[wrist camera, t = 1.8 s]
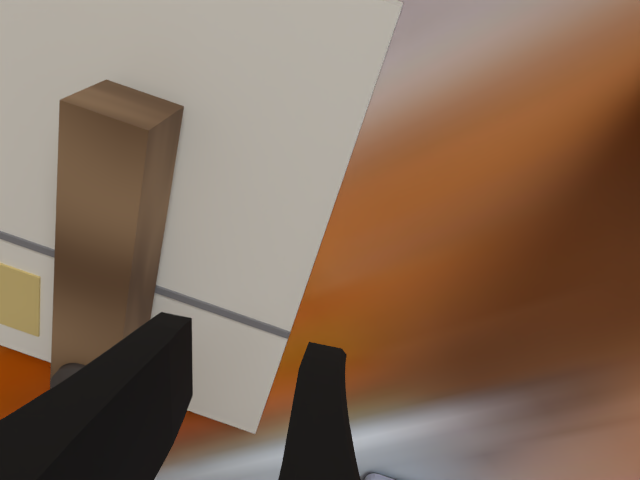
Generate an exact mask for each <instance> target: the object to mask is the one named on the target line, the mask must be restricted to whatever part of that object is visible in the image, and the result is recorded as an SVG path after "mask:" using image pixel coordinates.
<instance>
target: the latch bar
mask: <svg viewBox="0 0 640 480" xmlns="http://www.w3.org/2000/svg"><path fill="white" fill-rule="evenodd" d="M183 110H184V106H182V105H179V104H176V103H173V102H170V101H167V100H165V99H162V98H159V97H156V96H153V95H150V94H147V93H144V92H141V91H138V90H136V89H133V88H130V87H127V86H124V85H121V84H118V83H115V82H112V81H109V80H107V79H106V80H104V81H101V82H99V83H97V84H95V85H92V86H90V87H88V88H85V89H83V90H81V91H79V92H76V93H74V94H72V95H69V96H67V97H65V98H63V99H60V103H59V134H58V164H57V195H56V225H55V256H54V286H53V317H52V347H51V378H50V389H51V388H53V387H54V386H56V385H57V384H59V383H61V382H62V381H64V380H65V379H66V378H68V377H69V376H71V375H72V374H74V373H75V372H77V371H78V370H80V369H81V368H83V367H84V366H85V365H87V364H88V363H90V362H91V361H93V360H94V359H96V358H97V357H99V356H100V355H101V354H103V353H104V352H106V351H107V350H108V349H110V348H111V347H113V346H114V345H115V344H117V343H118V342H120V341H121V340H122V339H124V338H125V337H126V336H128V335H129V334H131V333H132V332H133V331H135V330H136V329H138V328H139V327H140V326H142V325H143V324H144V323H146V322H147V321H149V320H150V318H151V312H152V306H153V299H154V293H155V287H156V281H157V274H158V268H159V262H160V255H161V249H162V243H163V236H164V230H165V224H166V218H167V211H168V205H169V199H170V192H171V186H172V180H173V173H174V167H175V161H176V154H177V148H178V142H179V136H180V129H181V123H182V117H183Z"/></svg>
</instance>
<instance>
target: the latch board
mask: <svg viewBox="0 0 640 480" xmlns="http://www.w3.org/2000/svg"><path fill="white" fill-rule="evenodd" d="M402 6H403V2H400V1H397V0H0V345H2V346H5V347H8V348H10V349H13V350H16V351H19V352H22V353H25V354H28V355H30V356H33V357H36V358H39V359H42V360H45V361H48V362H50V363H51V347H52V317H53V286H54V256H55V225H56V195H57V164H58V134H59V103H60V99H63V98H65V97H67V96H69V95H72V94H74V93H76V92H79V91H81V90H83V89H85V88H88V87H90V86H92V85H95V84H97V83H99V82H101V81H104V80H106V79H107V80H109V81H112V82H115V83H118V84H121V85H124V86H127V87H130V88H133V89H136V90H138V91H141V92H144V93H147V94H150V95H153V96H156V97H159V98H162V99H165V100H167V101H170V102H173V103H176V104H179V105H182V106H184V110H183V117H182V123H181V129H180V136H179V142H178V148H177V154H176V161H175V167H174V173H173V180H172V186H171V192H170V199H169V205H168V211H167V218H166V224H165V230H164V236H163V243H162V249H161V255H160V262H159V268H158V274H157V281H156V287H155V293H154V299H153V306H152V312H151V318H150V319H152V318H153V317H155V316H156V315H157V314H159V313H160V312H164V313H169V314H174V315H179V316H184V317H189V318H192V373H193V396H192V399H191V401H190V404H189V406H188V409H187V410H188V411H191V412H194V413H196V414H199V415H202V416H205V417H208V418H211V419H214V420H216V421H219V422H222V423H225V424H228V425H231V426H234V427H237V428H239V429H242V430H245V431H248V432H251V433H254V434H255V433H256V430H257V427H258V424H259V421H260V418H261V416H262V413H263V410H264V407H265V404H266V401H267V398H268V395H269V392H270V390H271V387H272V384H273V381H274V378H275V375H276V372H277V369H278V366H279V363H280V360H281V358H282V355H283V352H284V349H285V346H286V343H287V340H288V337H289V334H290V331H291V329H292V326H293V323H294V320H295V317H296V314H297V311H298V308H299V305H300V302H301V299H302V297H303V294H304V291H305V288H306V285H307V282H308V279H309V276H310V273H311V270H312V268H313V265H314V262H315V259H316V256H317V253H318V250H319V247H320V244H321V241H322V238H323V236H324V233H325V230H326V227H327V224H328V221H329V218H330V215H331V212H332V209H333V206H334V204H335V201H336V198H337V195H338V192H339V189H340V186H341V183H342V180H343V177H344V175H345V172H346V169H347V166H348V163H349V160H350V157H351V154H352V151H353V148H354V145H355V143H356V140H357V137H358V134H359V131H360V128H361V125H362V122H363V119H364V116H365V114H366V111H367V108H368V105H369V102H370V99H371V96H372V93H373V90H374V87H375V84H376V82H377V79H378V76H379V73H380V70H381V67H382V64H383V61H384V58H385V55H386V53H387V50H388V47H389V44H390V41H391V38H392V35H393V32H394V29H395V26H396V23H397V21H398V18H399V15H400V12H401V9H402Z"/></svg>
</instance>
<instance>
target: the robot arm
mask: <svg viewBox="0 0 640 480" xmlns="http://www.w3.org/2000/svg"><path fill="white" fill-rule="evenodd" d="M345 362H346V354H345V352H344V351H343V350H342V349H341V348H336V347H331V346H326V345H321V344H316V343H311V342H309V344H308V346H307V349H306V351H305V354H304V357H303V359H302V362H301V365H300V368H299V372H298V378H297V383H296V389H295V394H294V400H293V405H292V411H291V417H290V422H289V428H288V434H287V439H286V445H285V450H284V456H283V462H282V467H281V471H280V475H279V480H360V476H359V472H358V467H357V462H356V458H355V452H354V447H353V441H352V435H351V430H350V424H349V417H348V410H347V400H346V389H345ZM192 396H193V373H192V318H189V317H184V316H179V315H174V314H169V313H164V312H160V313H159V314H157V315H156V316H155V317H153V318H152V319H150V320H149V321H147V322H146V323H144V324H143V325H142V326H140V327H139V328H138V329H136V330H135V331H133V332H132V333H131V334H129V335H128V336H126V337H125V338H124V339H122V340H121V341H120V342H118V343H117V344H115V345H114V346H113V347H111V348H110V349H108V350H107V351H106V352H104V353H103V354H101V355H100V356H99V357H97V358H96V359H94V360H93V361H91V362H90V363H88V364H87V365H85V366H84V367H83V368H81V369H80V370H78V371H77V372H75V373H74V374H72V375H71V376H69V377H68V378H66V379H65V380H64V381H62V382H61V383H59V384H57V385H56V386H54V387H53V388H51V389H50V390H48V391H47V392H45V393H43V394H42V395H40V396H39V397H37V398H35V399H34V400H32V401H31V402H29V403H27V404H26V405H24V406H23V407H21V408H19V409H18V410H16V411H15V412H13V413H11V414H10V415H8V416H6V417H5V418H3V419H1V420H0V480H154V479H155V477H156V475H157V473H158V471H159V470H160V468H161V466H162V464H163V462H164V460H165V459H166V457H167V455H168V453H169V451H170V449H171V447H172V445H173V443H174V441H175V438H176V436H177V434H178V431H179V429H180V427H181V424H182V422H183V419H184V417H185V414H186V412H187V409H188V406H189V404H190V401H191V399H192ZM364 480H394V479H392V478H389V477H386V476H383V475H380V474H376V473H371V474H369V475H367V476H366V477H365V479H364Z"/></svg>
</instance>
